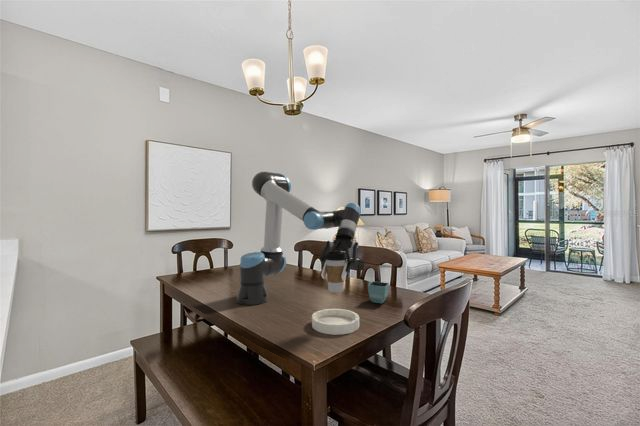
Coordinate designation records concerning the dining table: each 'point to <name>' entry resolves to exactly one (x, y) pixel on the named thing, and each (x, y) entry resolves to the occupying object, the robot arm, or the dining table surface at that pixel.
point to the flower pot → (378, 291)
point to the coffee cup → (335, 270)
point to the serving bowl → (335, 321)
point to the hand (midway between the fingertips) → (332, 277)
